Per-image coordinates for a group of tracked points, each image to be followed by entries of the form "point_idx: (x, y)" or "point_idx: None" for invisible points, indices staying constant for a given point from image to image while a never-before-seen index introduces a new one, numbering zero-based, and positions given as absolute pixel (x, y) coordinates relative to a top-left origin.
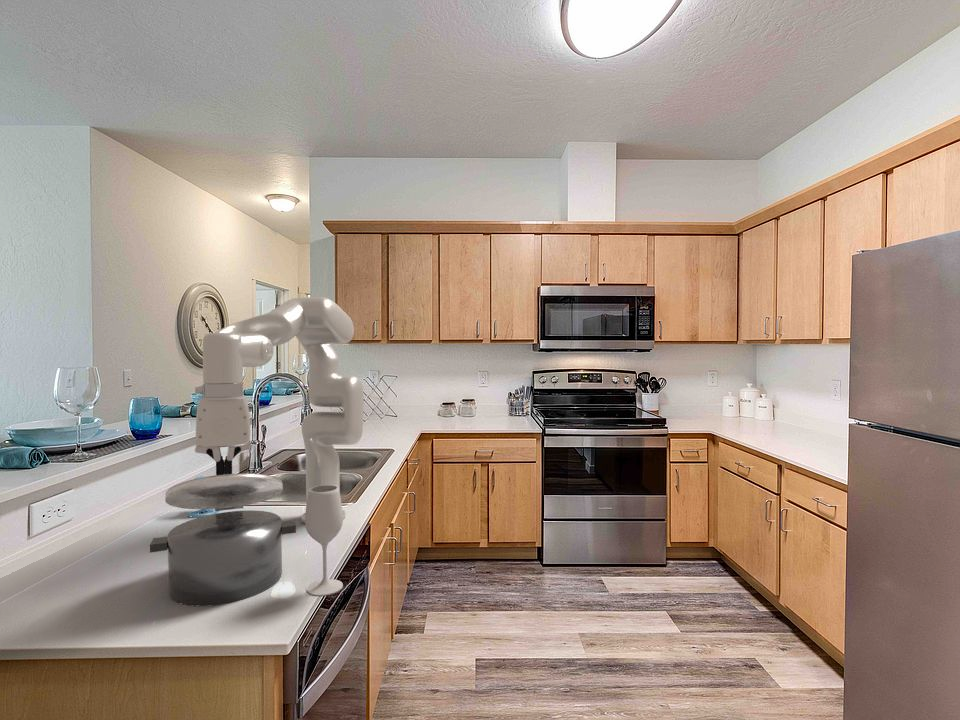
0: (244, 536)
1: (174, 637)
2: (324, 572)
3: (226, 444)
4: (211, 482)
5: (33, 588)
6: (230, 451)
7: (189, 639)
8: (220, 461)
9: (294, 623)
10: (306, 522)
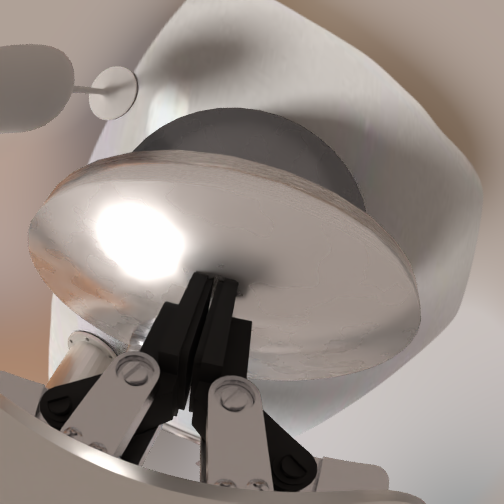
0: (200, 135)
1: (346, 57)
2: (99, 88)
3: (95, 477)
4: (307, 182)
5: (436, 332)
6: (110, 413)
7: (328, 38)
8: (213, 371)
9: (185, 4)
10: (59, 69)
